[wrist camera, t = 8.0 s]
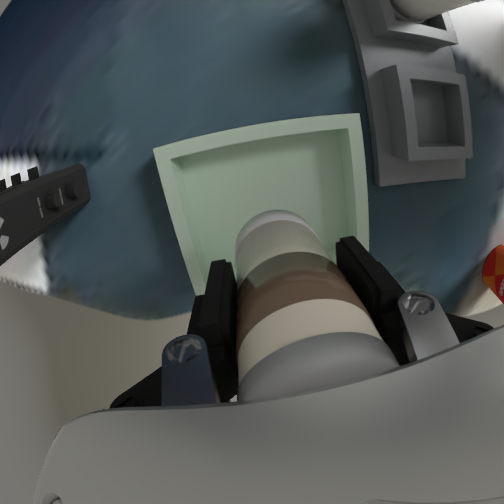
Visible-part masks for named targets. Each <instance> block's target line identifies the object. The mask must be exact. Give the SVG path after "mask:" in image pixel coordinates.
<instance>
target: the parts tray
mask: <svg viewBox="0 0 504 504" xmlns="http://www.w3.org/2000/svg"><path fill="white" fill-rule="evenodd" d="M153 151H154V155H155V160H156V164H157V167H158V171H159V175H160V179H161V183H162V187H163V190H164V194H165V198H166V201H167V205H168V208H169V212H170V215H171V219H172V222H173V226H174V229H175V232H176V236H177V239H178V242H179V245H180V249H181V252H182V255H183V258H184V261H185V264H186V267H187V270H188V274H189V277H190V280H191V283H192V285H193V288H194V291H195V294H196V296H197V295H203V294H205V289H206V284H207V279H208V274H209V270H210V265H211V261H216V260H221V259H225V260H226V262H231V263H232V267H233V271H234V275H235V279H236V267H235V244H236V239H237V236H238V234H239V232H240V230H241V229H242V227H243V226H244V225H245V223H247V222H248V221H249V220H250V219H251V218H253V217H254V216H256V215H258V214H260V213H262V212H265V211H269V210H287V211H291V212H293V213H296V214H298V215H299V216H301V217H302V218H304V219H305V220H306V221H307V222H308V223H309V225H310V226H311V228H312V229H313V230H314V232H315V233H316V235H317V236H318V238H319V239H320V241H321V244H322V245H323V247H324V248H325V250H326V251H327V253H328V254H329V256H330V257H331V259H332V260H333V262H334V263H335V264H336V242H339V240H340V238H342V237H348V236H355V238H356V239H357V240H358V241H359V242H360V243H361V244H362V245H363V246H364V248H365V249H366V250H367V251H368V252H369V212H368V191H367V176H366V164H365V154H364V144H363V136H362V128H361V121H360V114H359V113H353V114H338V115H325V116H315V117H306V118H297V119H289V120H282V121H275V122H269V123H263V124H257V125H251V126H245V127H240V128H235V129H230V130H225V131H220V132H216V133H211V134H207V135H203V136H198V137H194V138H190V139H186V140H183V141H179V142H175V143H171V144H168V145H164V146H161V147H157V148H154V149H153Z"/></svg>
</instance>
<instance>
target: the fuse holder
mask: <svg viewBox="0 0 504 504" xmlns="http://www.w3.org/2000/svg"><path fill="white" fill-rule="evenodd" d="M342 2H343V5H344V9H345V12H346V15H347V19H348V22H349V26H350V29H351V33H352V37H353V41H354V45H355V49H356V53H357V58H358V62H359V67H360V72H361V77H362V82H363V87H364V93H365V99H366V105H367V112H368V119H369V127H370V135H371V144H372V154H373V165H374V179H375V184H376V185H377V186H379V187H383V186H391V185H399V184H408V183H417V182H427V181H437V180H448V179H459V178H465V173H466V161H465V158H473V141H472V125H471V114H470V105H469V97H468V90H467V84H466V78H465V75H464V74H459V73H457V71H456V66H455V61H454V57H453V53H452V48H451V45H456V44H458V42H457V38H456V34H455V31H454V27H453V24H452V21H451V18H450V15H449V12H448V11H447V12H445V13H442V14H439V15H437V16H434V17H432V18H429V19H427V20H425V21H423V22H421V23H419V24H416V23H411V22H405V21H399V20H396V18H395V15H394V12H393V9H392V6H391V3H390V0H342Z"/></svg>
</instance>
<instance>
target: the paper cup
mask: <svg viewBox="0 0 504 504" xmlns="http://www.w3.org/2000/svg"><path fill="white" fill-rule="evenodd" d="M482 278H483V281H484V282H485V283H486V284H487V286H488V287H489V288H490V289H491V290H492V291H493V292H494V294H495V295H496V296H497V297H498V298H499V299H500V300H501V302H502V303H503V304H504V246H503V245H499V246H497V247H496V248H494V249H493V250H492V251H491V253H490V254H489V256H488V257H487V259H486V261H485V264H484V267H483V271H482Z"/></svg>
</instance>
